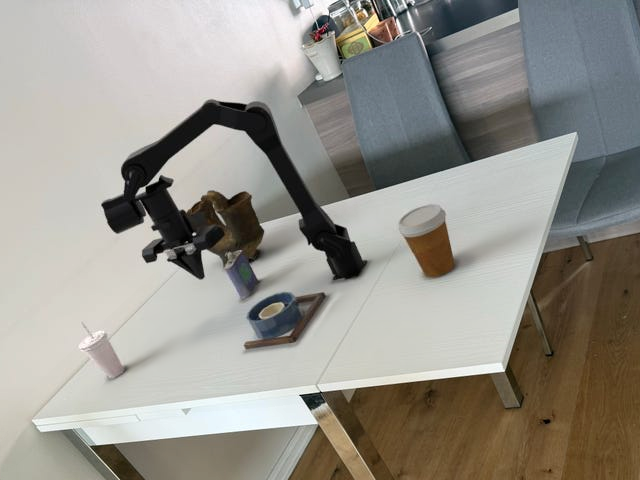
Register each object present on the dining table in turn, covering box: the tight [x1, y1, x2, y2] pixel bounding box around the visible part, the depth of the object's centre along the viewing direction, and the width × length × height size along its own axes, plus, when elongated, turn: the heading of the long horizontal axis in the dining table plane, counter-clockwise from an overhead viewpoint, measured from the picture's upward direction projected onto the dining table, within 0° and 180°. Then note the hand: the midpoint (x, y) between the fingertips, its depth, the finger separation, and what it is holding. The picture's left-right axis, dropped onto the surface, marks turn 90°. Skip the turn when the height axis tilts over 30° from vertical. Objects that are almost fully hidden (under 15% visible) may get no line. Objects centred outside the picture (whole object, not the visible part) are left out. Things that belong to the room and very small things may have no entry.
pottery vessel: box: [186, 189, 265, 269], centre depth 179 cm, size 25×11×20 cm, turn 56°
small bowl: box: [259, 302, 286, 320], centre depth 141 cm, size 6×6×3 cm
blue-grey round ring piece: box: [246, 291, 304, 340], centre depth 141 cm, size 11×11×5 cm
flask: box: [224, 250, 260, 300], centre depth 162 cm, size 9×3×11 cm, turn 172°
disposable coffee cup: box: [397, 203, 456, 278], centre depth 133 cm, size 10×10×12 cm
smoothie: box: [78, 321, 125, 379], centre depth 151 cm, size 6×6×14 cm
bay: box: [243, 291, 326, 350], centre depth 142 cm, size 12×16×2 cm
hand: (202, 278), depth 147 cm, fingers closed
